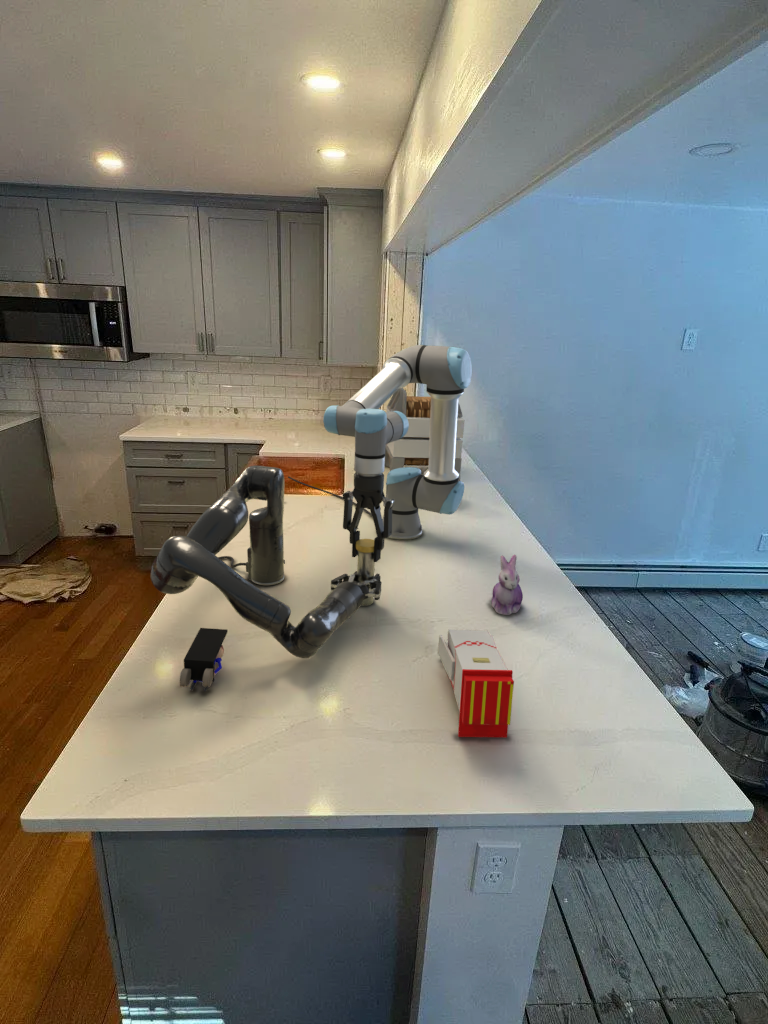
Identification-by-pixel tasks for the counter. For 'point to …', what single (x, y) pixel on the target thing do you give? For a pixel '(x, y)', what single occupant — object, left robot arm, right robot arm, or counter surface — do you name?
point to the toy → (478, 682)
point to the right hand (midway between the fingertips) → (366, 557)
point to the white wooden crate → (416, 433)
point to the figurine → (507, 588)
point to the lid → (365, 545)
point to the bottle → (365, 571)
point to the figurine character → (203, 658)
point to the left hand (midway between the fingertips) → (369, 575)
